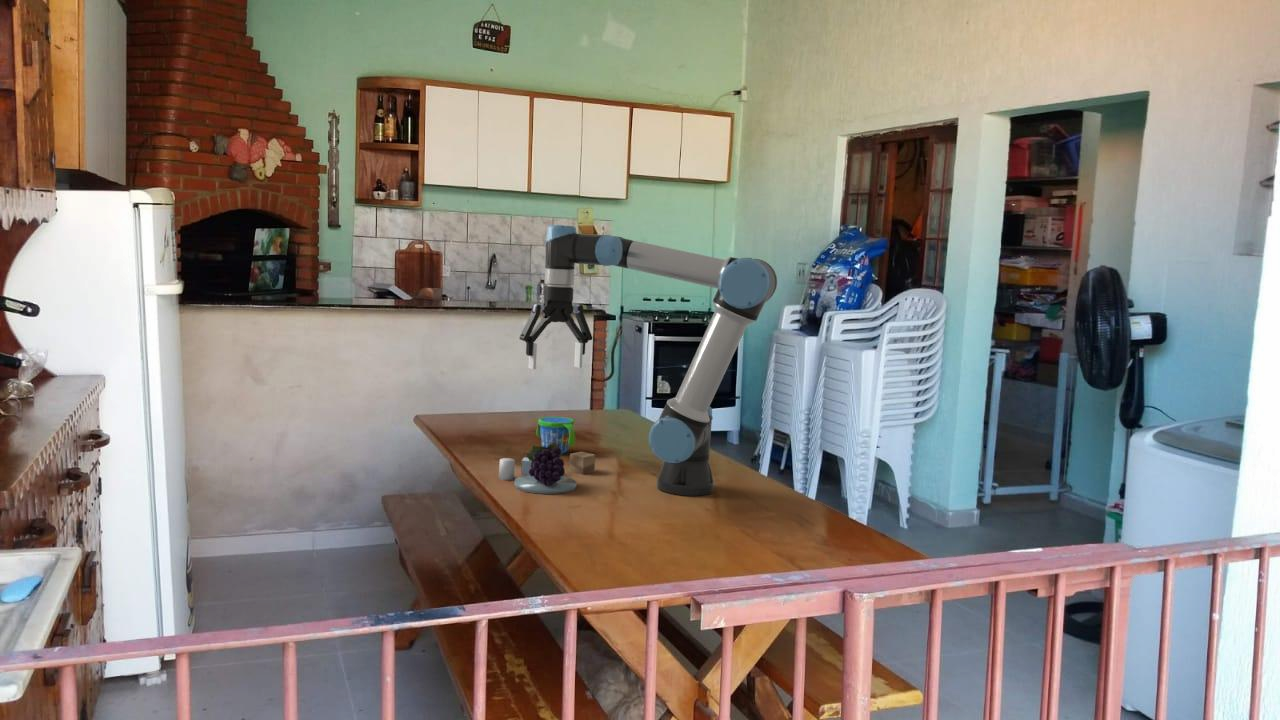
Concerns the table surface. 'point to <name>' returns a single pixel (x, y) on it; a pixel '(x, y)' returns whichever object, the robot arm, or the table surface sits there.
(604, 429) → the table surface
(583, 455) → the walnut block
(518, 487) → the plate
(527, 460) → the dusty blue block
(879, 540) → the table surface
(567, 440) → the snack cup
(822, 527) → the table surface
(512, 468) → the grey plastic peg
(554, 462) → the fruit
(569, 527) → the table surface
